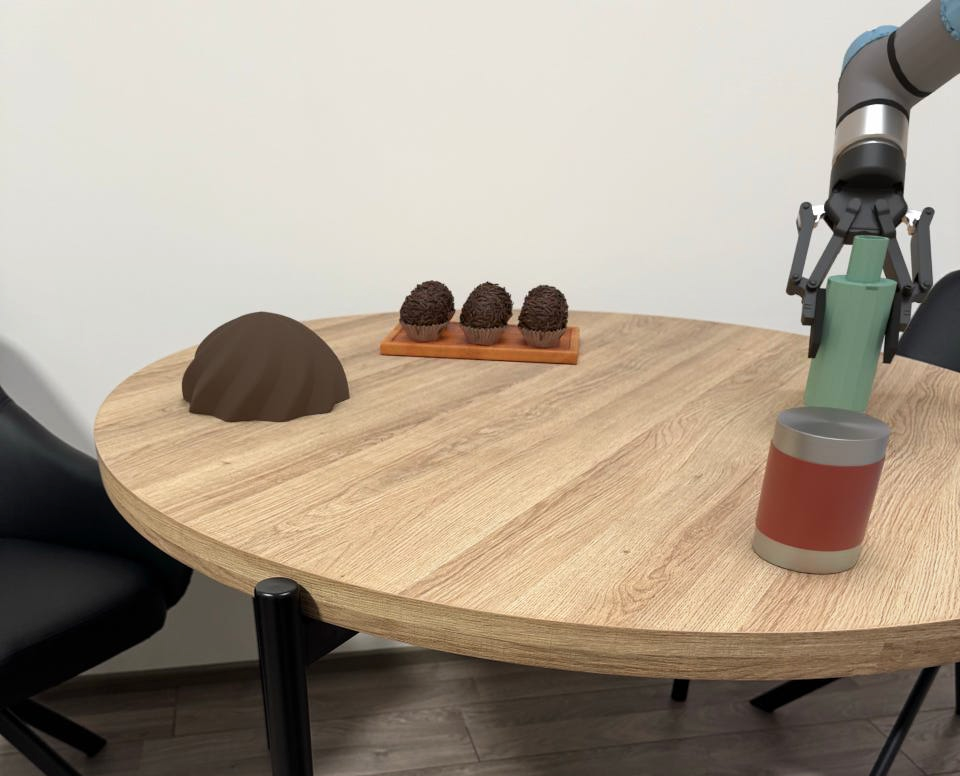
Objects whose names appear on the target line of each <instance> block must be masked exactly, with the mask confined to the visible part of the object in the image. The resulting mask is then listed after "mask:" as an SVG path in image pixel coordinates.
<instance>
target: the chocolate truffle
mask: <svg viewBox="0 0 960 776" xmlns="http://www.w3.org/2000/svg"><path fill="white" fill-rule="evenodd" d="M527 293H528V294H525V297H524V299H523V301H524V302H523V303H522V306H521V308H520V312H519V315H518V316H517V321H518V323H517V324H516V323H508V322H509V321H510V320H511V318H512V317H513V315H514V312H513V308H514V304H515V302H513V300H512V294H511V293H510V292H509V291H508V292H507V289H506V287H505V286H503V287H502V286H500V284H499V283H493V282H490V281H489V280H487V281H485V282H483V283H479V285H476V287H474V288H473V290H472V291H471V292H470V293H469V295H468V297H467V298H466V300H465V302H464V303H463V304H462V307H461V310H460V314H459V321H453V320H452V319H453V318H454V316H455V314H456V312H457V310H456V308H455V305H456V304H455V297H454V295H453V293H452V290H450V289H449V287H448V286H447V285H446V284H445V283H444V282H443V283H442V282H441V281H438V280H433V279H431V280H426V281H422V282H421V283H420V284H419V283H416V287H414V289H412V290H411V291H410V294H408V295H405V298H404V301H403V302H402V304H401V306H400V309H399V319H398V323H397V324H396V325H395V327H394V328H393V329H392V330H391V331H390V332H389V333H388V334H387V336H386V337H385V338H384V339H383V340H382V341H381V343H380V344H379V353H380V354H381V355H384V356H403V357H405V356H406V357H426V358H445V359H447V358H448V359H465V360H466V359H469V360H485V361H486V360H489V361H505V362H509V361H510V362H525V363H526V362H529V363H530V362H531V363H550V364H551V363H552V364H566V365H569V364H570V365H576V364H577V363H578V359H579V358H578V357H579V345H580V331H581V329H580V327H579V326H568V324H569V322H568V321H569V320H568V319H569V307H570V306H569V305H568V302H567V301H568V300H567V298H566V296H565V293H562V291H561V290H560V289H557V288H556V286H554V285H553V286H551V285H549V284H539V285H537V286H536V287H533V288H532V289H531V290H528V292H527Z"/></svg>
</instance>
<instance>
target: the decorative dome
mask: <svg viewBox="0 0 960 776" xmlns="http://www.w3.org/2000/svg"><path fill="white" fill-rule="evenodd" d="M181 393H182V399H184V400H185V401H187V402H189V403H190V405H189V408H188V412H189V413H192V414H200V415H208V416H212V417H215V418H217V419H220V420H221V421H224V422H228V423H234V422H246V421H247V422H248V421H264V422H275V423H276V422H277V423H284V422H289V421H292V420H294V419H297V418H300V417H303V416H310V415H321V414H328V413H331V412H332V411H333V409H334V406H335V405H336V404H338V403H341V402H343V401H346V400H348V399H350V388H349V382H348V379H347V374H346V371H345V369H344V367H343V365H342V363H341V360H340V358H339V357H338V356H337V354H336V353H335V352H334V350H333V349H332V348H331V347H330V346H329V344H328V343H327V342H326V341H325V340H323V339H322V337H321V336H319V335H318V334H317V333H316V332H315V331H313V330H312V329H311V328H310V327H308V326H307V325H305V324H304V323H302V322H300V321H299V320H296V319H294V318H292V317H290V316H286V315H284V314H280V313H275V312H270V311H264V310H263V311H255V312H248V313H246V314H242V315H240V316H238V317H236V318H233V319H231V320H229V321H226V322H225V323H223V324H221V325H220V326H217V327H215V329H213V330H212V331H211V332H210V333H209V334H208V335H206V337H204V339H203V340H201V342H200V343H199V344H198V346H197V348H196V350H195V352H194V358H193V359H192V360H191V362H189V364H188V366H187V368H186V369H185V371H184V373H183V375H182V379H181Z"/></svg>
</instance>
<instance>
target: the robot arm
mask: <svg viewBox="0 0 960 776" xmlns="http://www.w3.org/2000/svg"><path fill="white" fill-rule="evenodd" d="M958 75H960V0H930V1H928V2H927V3H926V4H925V5H924V6H922V7H921V8H920V9H919V10H918V11H916V12H915V13H914V14H913V15H911V17H910V18H908V19H907V20H906V21H905V22H904V23H902V24H901V25H900V26H897V25H892V24H884V25H879V26H877V27H876V28H874V29H871V30H865V31H864V32H862V33H861V34H859V35H858V36H857V37H856V38H855V39H854V40H853V41H852V42H851V43H850V44H849V46H848V48H847V49H846V51H845V54H844V56H843V60H842V65H841V71H840V75H839V77H838V82H837V107H836V119H835V130H834V141H833V149H832V159H831V170H830V177H829V186H828V187H829V188H828V197H827V199H826V200H825V201H824V204H820V205H814V206H813V204H812V203H811V202H810V201H803V202H802V203H801V204H800V206H799V209H798V212H797V217H796V220H795V225H796V230H797V231H796V232H797V235H798V236H797V241H796V245H795V249H794V253H793V258H792V262H791V266H790V270H789V274H788V279H787V283H786V284H787V285H786V288H785V293H786V294H787V295H788V296H798V297H800V298H801V301H800V302H801V315H800V323H801V325H802V326H807V327H810V328H809V329H810V330H809V340H808V349H807V350H808V351H807V359H812V358H814V359H815V357H816V355H817V352H818V350H819V347H820V344H821V335H822V325H823V314H824V304H825V293H826V287H825V288H824V287H822V285H823V284H824V281H825V280H826V277H827V276H828V274H829V273H830V270H831V268H832V267H833V265H834V263H835V261H836V260H837V257H838V256H839V254H840V253H841V251H842V249H843V247H844V245H845V246H852V245H853V241H854V237H855V236H862V235H864V236H880V237H886V238H889V243H888V247H887V251H886V256H885V260H884V264H883V269H882V272H883V274H884V276H885V277H884V278H886V279H890V280H894V281H896V282H897V286H896V290H895V294H894V298H893V302H892V307H891V311H890V315H889V319H888V323H887V327H886V331H885V336H884V340H883V354H882V364H887V365H891V364H892V361H893V360H894V358H895V356H896V354H897V352H898V350H899V345H900V344H899V343H900V333H905V331H906V330H907V328H908V326H909V324H910V323H911V320H912V305H913V304H914V303H916V304H923V303H924V302H925V301H926V300H927V298H928V296H929V294H930V292H931V290H932V288H933V287H934V275H933V274H934V273H933V258H932V257H933V256H932V243H931V228H930V226H931V224H932V221H933V219H934V216H935V212H936V211H935V209H934V208H933V207H931V206H926V207H924V208H923V209H922V210H921V211H920V210H915V209H912V208H909V206H908V203H907V201H906V199H905V196H904V195H905V184H906V182H905V181H906V171H907V162H906V160H907V156H908V143H909V141H908V140H909V128H910V119H911V110H912V108H914V106H916V105H918V104H919V103H920V102H921V101H923V100H924V99H925V98H927V97H929V96H931V95H932V94H933V93H934V92H936V91H937V90H938V89H940V88H942V87H943V86H944V85H945V84H947V83H948V82H950V81H951V80H952V79H954V78H955V77H957V76H958ZM820 220H823V221H824V223H825V224H826V225H827V227H828V228H829V229H830V230H831V232H832V236H831V238H829V241H828V243H827V245H826V246H825V248H824V250H823V252H822V254H821V255H820V257H819V259H818V261H817V263H816V264H815V266H814V268H813V270H812V272H811V274H810V276H809V278H807V277H804V276H803V273H804V269H805V265H806V261H807V257H808V256H807V255H808V253H809V248H810V243H811V239H812V234H813V231H814V229H816V228H817V227H818V226H819V223H820ZM902 223H904V224H905V226H906V231H907V235H908V236H911V238H910V243H909V244H910V245H909V246H910V247H909V248H910V265H911V266H910V267H911V274H910V272H909V268H908V266H907V264H906V261H905V258H904V255H903V253H902V249H901V247H900V243H899V242H898V238H897V228H898V227H899V226H900V225H901V224H902Z"/></svg>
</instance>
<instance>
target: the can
mask: <svg viewBox="0 0 960 776" xmlns="http://www.w3.org/2000/svg"><path fill="white" fill-rule="evenodd" d="M775 419H776V420H775V425H774V430H773V434H772V435H773V436H772V438H771V440H770V444H769V449H768V453H767V459H766V463H765V468H764V474H763V480H762V485H761V490H760V494H759V501H758V504H757V511H756V515H755V519H754V520H755V521H754V524H755V526H754V532H753V538H752V543H751V546H752V549H753V551H754V552H755V553H756V555H757V556H759V557H760V558H761V559H762V560H764V561H766V562H768V563H770V564H772V565H775V566H777V567H780V568H783V569H786V570H789V571H794V572H800V573H805V574H814V575H815V574H817V575H827V574H829V575H830V574H837V573H841V572H842V573H843V572H845V571H847V570H850V569H852V568H853V567H854V566H855V565H856V564H857V561H858V559H859V558H858V557H859V554H860V551H861V547H862V543H863V542H864V540H865V536H866V534H867V533H866V532H867V530H868V525H869V522H870V518H871V514H872V511H873V507H874V502H875V499H876V495H877V492H878V486H879V483H880V480H881V476H882V472H883V468H884V464H885V461H886V452H887V447H888V444H889V440H890V436H891V432H892V429H891V426H889V424H888V423H887V422H885V421H883V420H881V419H879V418H877V417H876V416H873V415H870V414H867V413H860V412H855V411H851V410H845V409H839V408H830V407H805V406H797V407H791V408H787V409H784V410H782V411H780V412H779V413H777V416H776V418H775Z"/></svg>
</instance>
